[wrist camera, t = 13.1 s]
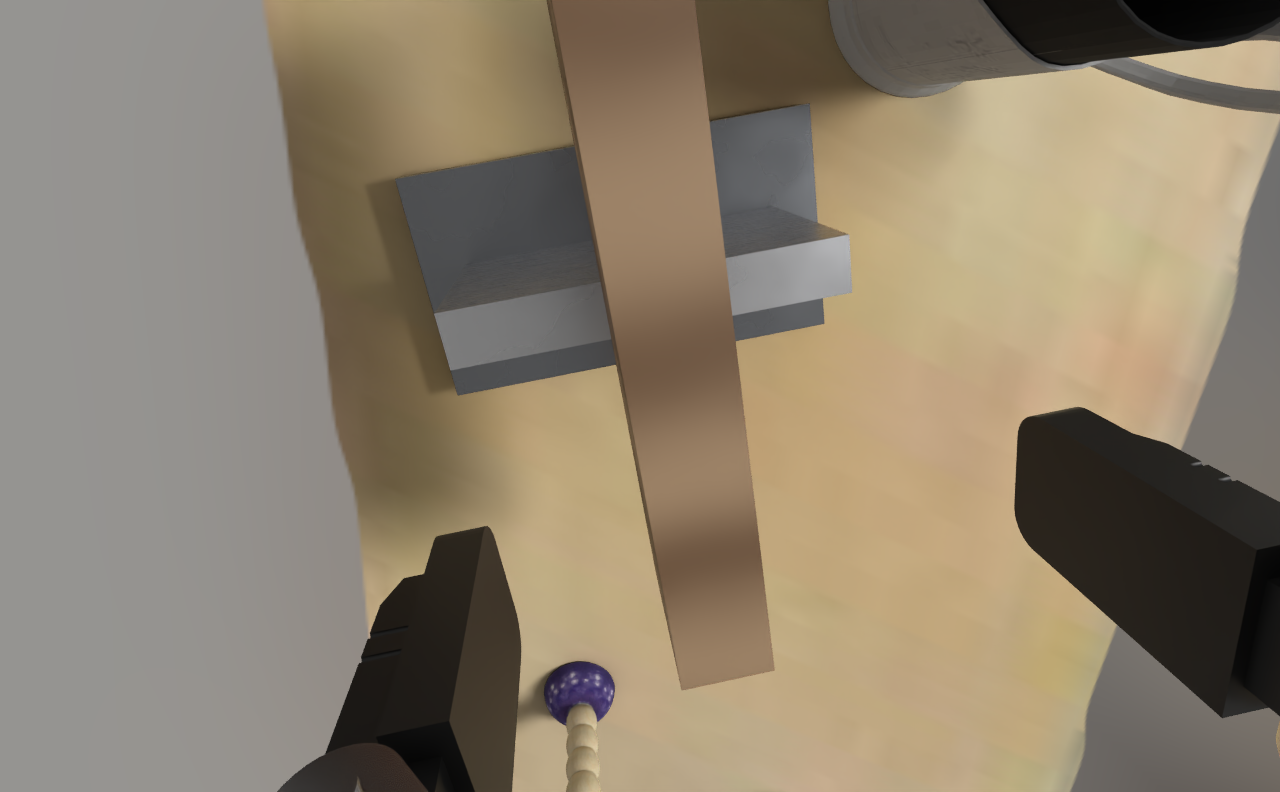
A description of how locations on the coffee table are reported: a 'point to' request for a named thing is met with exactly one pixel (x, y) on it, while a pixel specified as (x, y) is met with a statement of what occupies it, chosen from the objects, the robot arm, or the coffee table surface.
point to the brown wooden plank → (669, 317)
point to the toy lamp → (580, 717)
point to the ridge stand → (566, 263)
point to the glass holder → (1046, 41)
